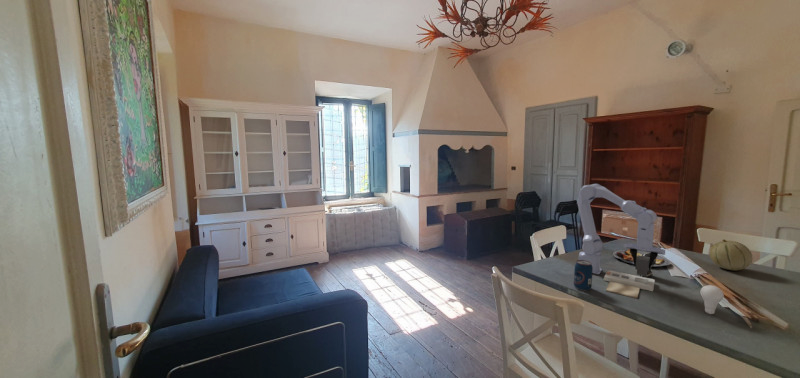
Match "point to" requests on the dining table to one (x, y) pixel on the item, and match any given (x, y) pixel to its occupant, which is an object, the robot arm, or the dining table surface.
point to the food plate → (628, 258)
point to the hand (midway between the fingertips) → (642, 266)
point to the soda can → (583, 275)
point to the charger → (642, 265)
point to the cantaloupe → (731, 255)
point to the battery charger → (651, 265)
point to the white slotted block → (630, 280)
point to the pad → (623, 289)
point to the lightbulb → (711, 297)
